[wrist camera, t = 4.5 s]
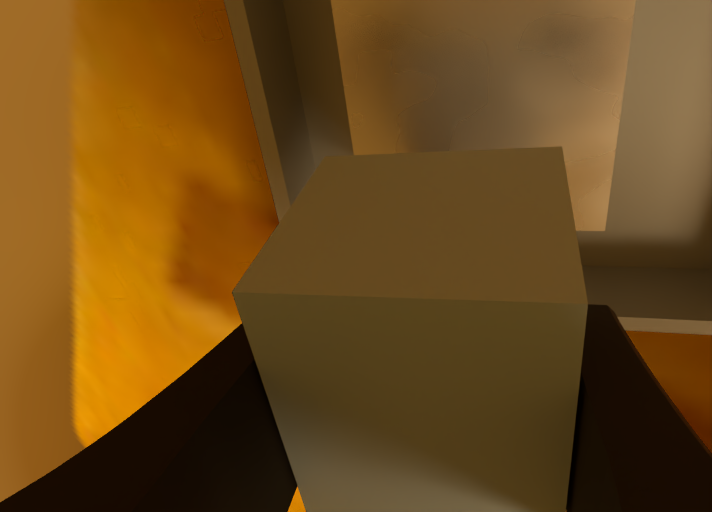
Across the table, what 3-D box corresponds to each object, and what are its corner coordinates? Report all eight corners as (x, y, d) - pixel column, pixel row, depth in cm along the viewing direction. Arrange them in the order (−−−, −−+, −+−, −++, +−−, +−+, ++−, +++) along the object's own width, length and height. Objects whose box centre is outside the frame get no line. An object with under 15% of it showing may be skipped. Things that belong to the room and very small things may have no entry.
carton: (562, 146, 9) (588, 303, 5) (545, 403, 12) (556, 596, 9) (324, 156, 10) (231, 292, 7) (369, 389, 13) (321, 555, 10)
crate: (905, -226, 11) (1017, -254, 8) (747, 273, 17) (783, 338, 15) (250, -109, 14) (198, -105, 12) (326, 262, 21) (301, 313, 19)
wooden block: (615, -69, 13) (643, -51, 10) (589, 167, 16) (604, 230, 13) (365, -36, 14) (328, -14, 11) (389, 172, 18) (364, 228, 15)
